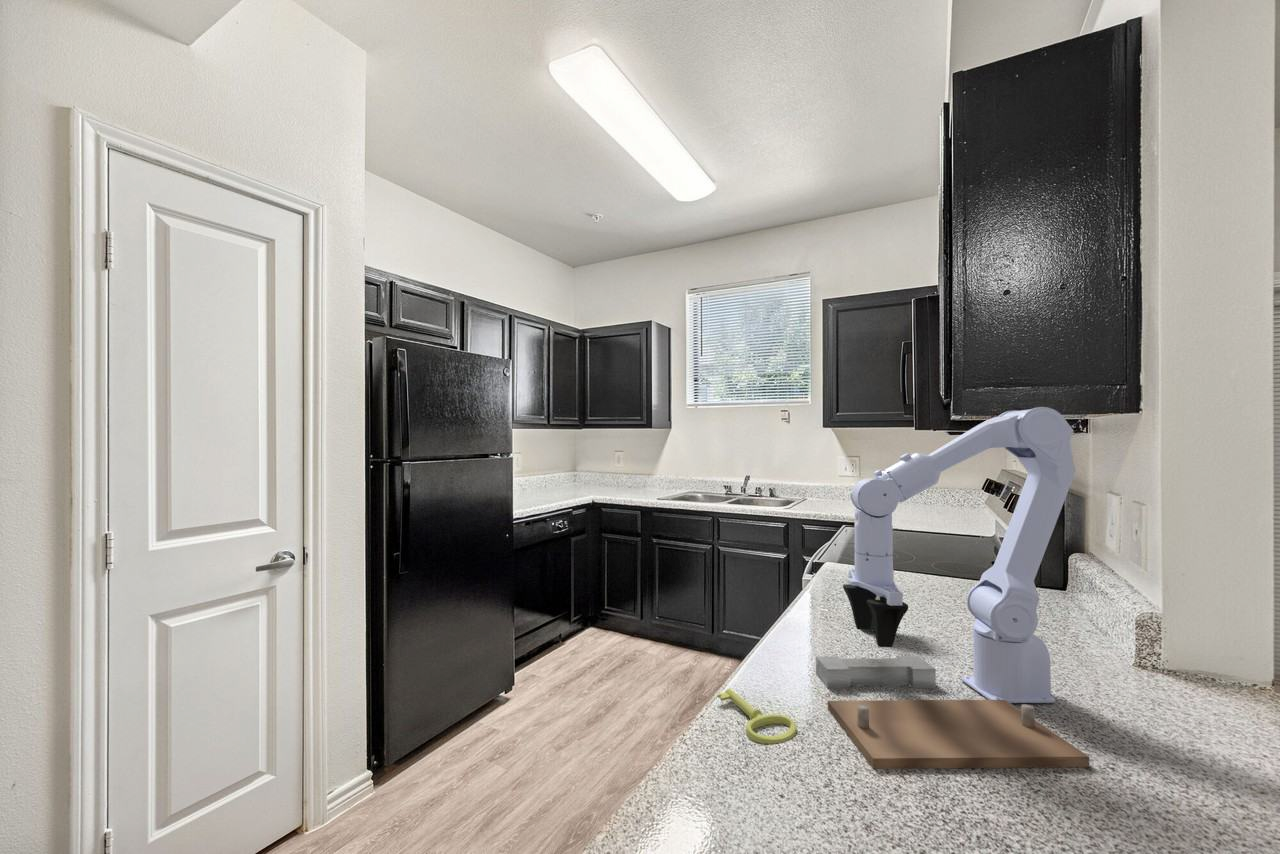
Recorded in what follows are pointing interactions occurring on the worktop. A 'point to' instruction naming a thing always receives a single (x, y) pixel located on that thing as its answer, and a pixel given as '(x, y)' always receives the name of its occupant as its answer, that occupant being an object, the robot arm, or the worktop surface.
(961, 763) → the rack board
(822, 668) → the grey stepped bar
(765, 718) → the key
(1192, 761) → the worktop surface
